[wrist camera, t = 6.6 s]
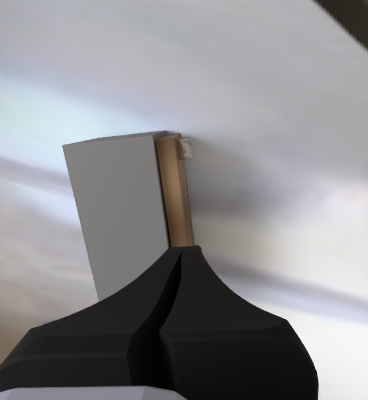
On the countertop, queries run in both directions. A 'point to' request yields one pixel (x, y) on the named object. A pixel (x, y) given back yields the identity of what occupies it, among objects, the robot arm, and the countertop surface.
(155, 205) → the grey long block
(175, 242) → the door
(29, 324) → the countertop surface
